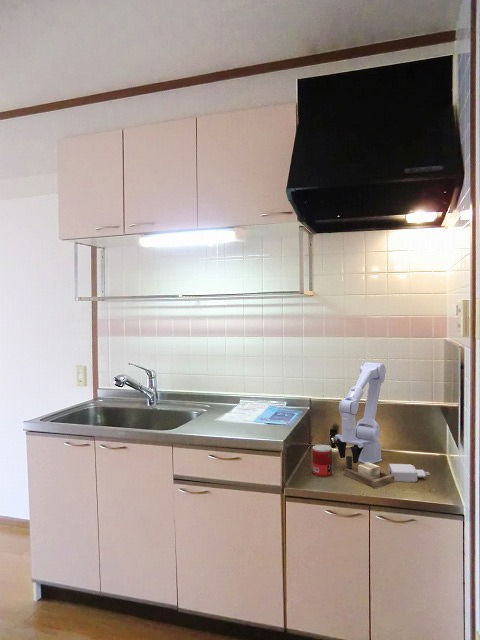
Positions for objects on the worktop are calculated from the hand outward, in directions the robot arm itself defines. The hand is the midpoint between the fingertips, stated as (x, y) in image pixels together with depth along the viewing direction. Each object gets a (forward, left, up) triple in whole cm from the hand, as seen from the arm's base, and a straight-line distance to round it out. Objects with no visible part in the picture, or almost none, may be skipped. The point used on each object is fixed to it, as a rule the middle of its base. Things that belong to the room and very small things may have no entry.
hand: (349, 460), depth 198 cm
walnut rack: (0, +10, -5) cm, 11 cm away
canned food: (+11, -4, -5) cm, 13 cm away
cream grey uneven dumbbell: (0, +6, -4) cm, 8 cm away
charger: (-14, +20, -5) cm, 25 cm away
